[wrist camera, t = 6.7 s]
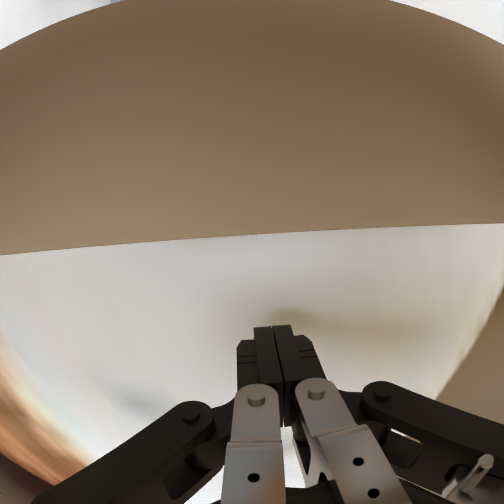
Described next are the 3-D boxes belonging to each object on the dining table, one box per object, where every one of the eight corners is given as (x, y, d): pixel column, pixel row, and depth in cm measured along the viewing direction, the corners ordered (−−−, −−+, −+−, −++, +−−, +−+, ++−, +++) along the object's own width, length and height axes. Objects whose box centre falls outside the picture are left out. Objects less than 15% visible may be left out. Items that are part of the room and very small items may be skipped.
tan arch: (414, 178, 13) (589, 221, 4) (93, 195, 12) (-81, 264, 3) (412, 117, 12) (587, 104, 3) (88, 130, 11) (-93, 119, 2)
